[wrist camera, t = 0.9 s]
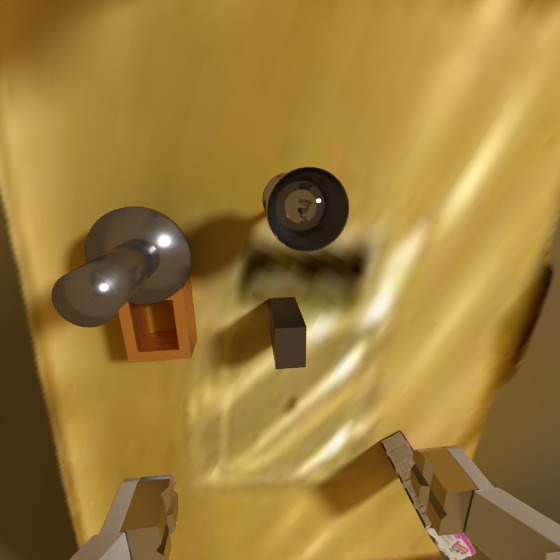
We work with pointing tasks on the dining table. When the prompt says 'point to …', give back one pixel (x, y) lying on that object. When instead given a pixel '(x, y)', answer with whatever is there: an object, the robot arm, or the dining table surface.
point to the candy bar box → (401, 459)
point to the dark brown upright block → (287, 333)
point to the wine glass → (306, 208)
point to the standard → (133, 282)
